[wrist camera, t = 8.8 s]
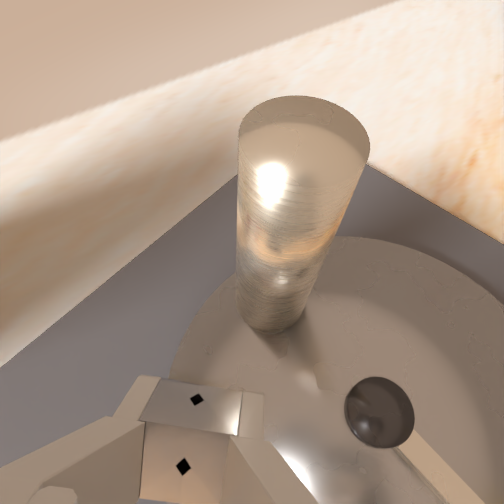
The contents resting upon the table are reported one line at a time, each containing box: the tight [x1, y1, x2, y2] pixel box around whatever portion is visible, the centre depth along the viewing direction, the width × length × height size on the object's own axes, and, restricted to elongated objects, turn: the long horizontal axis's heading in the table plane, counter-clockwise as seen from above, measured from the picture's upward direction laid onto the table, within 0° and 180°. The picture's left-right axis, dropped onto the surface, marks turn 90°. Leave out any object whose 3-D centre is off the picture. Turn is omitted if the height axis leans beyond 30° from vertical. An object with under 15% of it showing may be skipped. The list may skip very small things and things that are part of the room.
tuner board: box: [0, 164, 504, 504], centre depth 16 cm, size 26×26×2 cm
